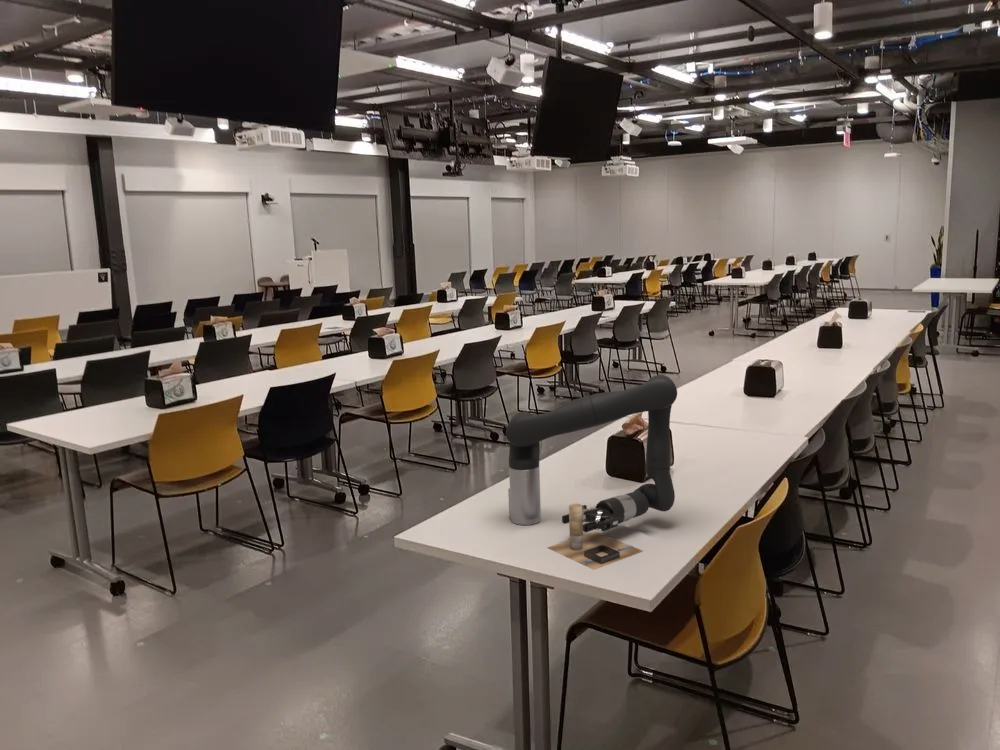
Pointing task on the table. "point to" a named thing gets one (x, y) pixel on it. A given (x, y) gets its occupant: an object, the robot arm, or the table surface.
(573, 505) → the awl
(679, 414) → the table surface
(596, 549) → the pilot collar
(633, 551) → the board
